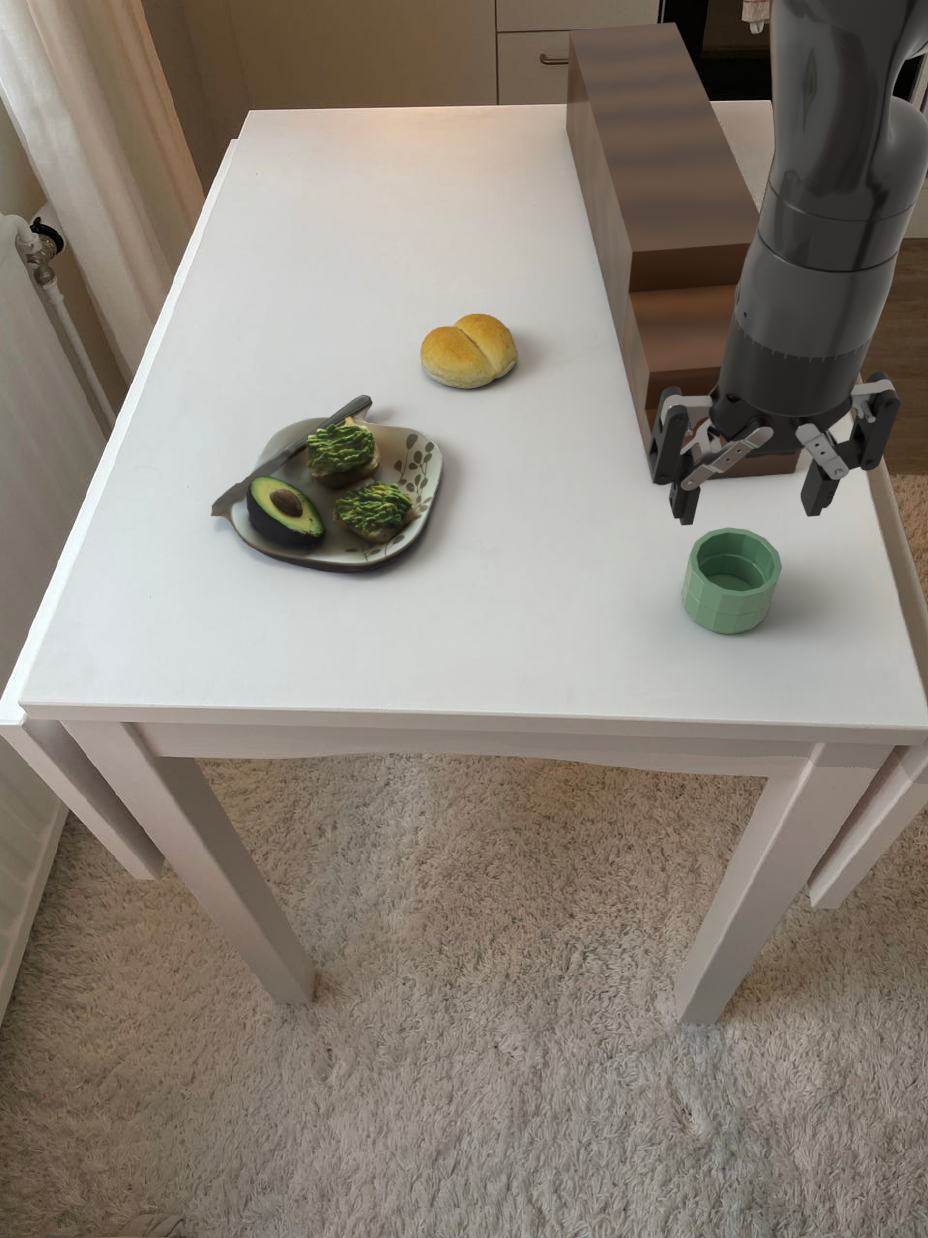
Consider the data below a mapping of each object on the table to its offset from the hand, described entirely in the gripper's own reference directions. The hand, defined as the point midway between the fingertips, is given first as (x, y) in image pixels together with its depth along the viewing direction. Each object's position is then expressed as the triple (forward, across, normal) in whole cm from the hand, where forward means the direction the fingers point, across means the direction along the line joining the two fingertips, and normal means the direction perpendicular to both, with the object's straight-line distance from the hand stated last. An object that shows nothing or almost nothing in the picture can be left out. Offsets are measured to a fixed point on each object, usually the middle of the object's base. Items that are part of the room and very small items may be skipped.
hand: (746, 511), depth 65 cm
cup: (+10, 0, 0) cm, 10 cm away
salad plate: (+11, -30, +14) cm, 34 cm away
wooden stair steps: (+10, +3, +43) cm, 45 cm away
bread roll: (+11, -17, +31) cm, 37 cm away
